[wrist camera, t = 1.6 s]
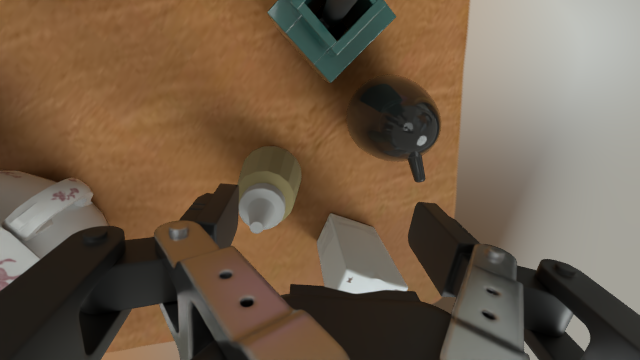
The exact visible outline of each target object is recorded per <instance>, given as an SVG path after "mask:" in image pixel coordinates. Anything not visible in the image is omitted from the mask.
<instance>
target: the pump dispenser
mask: <svg viewBox="0 0 640 360" xmlns="http://www.w3.org/2000/svg"><path fill="white" fill-rule="evenodd" d="M347 127H348V131H349V133H350V136H351V138H352V139H353V141H354V142H355V143H356V144H357V146H358V147H359V148H361V149H362V150H363V151H365V152H366V153H368V154H370V155H372V156H374V157H376V158H379V159H382V160H386V161H394V162H401V161H408V162H409V165H410V168H411V171H412V174H413V177H414V180H415V182H423V181H424V180H425V173H424V167H423V161H422V155H424V154H425V153H427V152H428V151H429V150H430V149H431V148H432V147H433V146H434V145H435V143H436V142H437V140H438V137H439V135H440V131H441V118H440V113H439V110H438V108H437V106H436V104H435V102H434V101H433V99H432V98H431V96H430V95H429V94H428V92H427V91H426V90H425V89H424V88H423V87H421V86H420V85H419V84H417V83H416V82H414V81H412V80H410V79H408V78H406V77H403V76H399V75H382V76H378V77H375V78H372V79H370V80H369V81H367V82H365V83H364V84H363V85H362V86H361V87H360V88H359V89H358V90H357V91H356V92H355V94H354V95H353V97H352V98H351V100H350V103H349V106H348V109H347Z"/></svg>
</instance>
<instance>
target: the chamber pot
mask: <svg viewBox="0 0 640 360" xmlns="http://www.w3.org/2000/svg"><path fill="white" fill-rule="evenodd" d="M92 196H93V191H92V189H91V188H90V187H89V186H88V185H87V184H85V183H84V182H83V181H81V180H79V179H76V178H73V177H72V178H68V179H65V180H62V181H60V182H56V181H53V180H50V179H47V178H44V177H40V176H36V175H32V174H28V173H24V172H20V171H13V170H0V291H1V290H2V289H3V288H5V287H6V286H7V285H9V284H10V283H11V282H12V281H14V280H15V279H16V278H17V277H19V276H20V275H21V274H22V273H24V272H25V271H26V270H27V269H29V268H30V267H31V266H33V265H34V264H35V263H36V262H38V261H39V260H40V259H41V258H43V257H44V256H45V255H46V254H48V253H49V252H50V251H52V250H53V249H54V248H55V247H57V246H58V245H59V244H60V243H62V242H63V241H64V240H65V239H67V238H68V237H69V236H71V235H72V234H74V233H76V232H78V231H81V230H84V229H87V228H91V227H97V226H109V224H108V222H107V220H106V219H105V217H104V215H103V213H102V212H101V211H100V210H99V209H98V208H97V207H96V206H95V205H94V204H93V202H92V201H91V198H92Z"/></svg>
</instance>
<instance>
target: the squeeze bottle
mask: <svg viewBox="0 0 640 360" xmlns="http://www.w3.org/2000/svg"><path fill="white" fill-rule="evenodd" d="M301 179H302V178H301V167H300V165H299V163H298V161H297V159H296V158H295V157H294V156H293V155H292V154H291V153H290V152H288V151H287V150H285V149H282V148H279V147H277V146H264V147H261V148H259V149H256V150H254V151H252V152H251V153H250V154H249V156H248V157H247V158H246V159H245V160H244V163H243V166H242V170H241V173H240V177H239V180H238V184H237V185H239V215H240V217H241V218H242V220H243V221H244V222H245V223H246V224H247V225H249V226H250V230H251V231H252V232H253V233H260V232H262V230H263V229H270V228H272V227H274V226H277V224H278V223H279V222H281V221H283V220H284V219H285V218H286V217H287V216H288V215H289V214H290V213H291V211H292V208H293V205H294V203H295V199H296V196H297V193H298V189H299V186H300V183H301Z"/></svg>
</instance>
